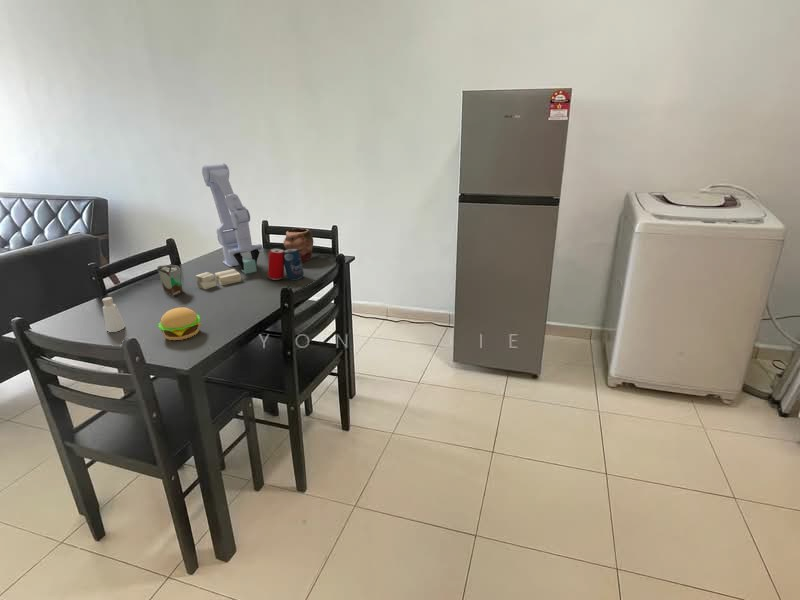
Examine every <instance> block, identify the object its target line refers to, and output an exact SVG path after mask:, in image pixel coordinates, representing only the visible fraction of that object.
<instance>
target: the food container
mask: <svg viewBox="0 0 800 600" xmlns="http://www.w3.org/2000/svg"><path fill="white" fill-rule="evenodd" d="M157 272H158V275H159V278H160V282H161V285H162V286H161V287H162V288H163V292H165V293H166V292H167V293H166V294H168V293H169V294H168V295H170V296H171V295H172V296H171V297H173V298H175V297H177V296H180V295H182V293H183V292H184V291H183V284H182V278H181V277H182V276H181V275H182V273H183V272H182V269H181V268H180V266H178V265H175V264H164V265H158V266H157Z"/></svg>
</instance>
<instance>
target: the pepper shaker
mask: <svg viewBox="0 0 800 600" xmlns="http://www.w3.org/2000/svg"><path fill="white" fill-rule="evenodd" d="M101 301H102V303H103V306H102V312H103V313H102V314H103V319H104V325H105V331H106V332H107V331H109V332H113V331H118V330H121V329H123V328H124V327H125V328H126V325H125V322H124V319H123V318H122V315H121V313H120V311H119V309H118V306H117V303H114V300H113V297H111V296H109V297H108V296H107V297H104V298H102V300H101ZM109 332H108V333H109Z"/></svg>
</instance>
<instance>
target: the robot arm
mask: <svg viewBox="0 0 800 600" xmlns="http://www.w3.org/2000/svg"><path fill="white" fill-rule="evenodd" d="M201 170H202V171H201V173H202V177H203V181H204V184H205V187H208V188H209V189H210V191H211V194H212V197H213V201H214V204H215V208H216V210H217V214H218V218H219V222H220V225H219V226H218V227H217V228H216V234H217V237H216V238H217V241H218V243H219V245H220V246H222V253H223V261H222V263H223V264H224V265H226V266H227V267H228V268H230V267H235V266H239V268H240V269H241V270H244V266H243V259H244V258H243V254H245V253H248V252H249V253H250V255H251V258H252V259H254V260H255V263H256V267H257V264H258V259H259V256H260V251H259V250H261V251H263V249H264V247H263V244H253V243H252V237H251V230H250V221H251V214H250V212H249V210H248V209H247V207H246V206H244V205H243V204H242V202H241V200H240V198H239V196H238V194H236V193H234V190H233V188H232V185H231V182H230V169H229V167H228V165H227V164H226V163H219V164H217V163H216V164H210V165H208V164H207V165H206V164H205V165H203V166H202V167H201ZM241 270H240V271H241Z"/></svg>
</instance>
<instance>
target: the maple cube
mask: <svg viewBox="0 0 800 600" xmlns="http://www.w3.org/2000/svg"><path fill="white" fill-rule="evenodd" d="M195 278H196V283H197V288H199V289H202V290H208V289H210V288H213V287H216V286H217V283H216V282H217V281H216V277H215V273H214V274H213V273H212V272H209V271H205V272H202V273H200V274H195Z"/></svg>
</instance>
